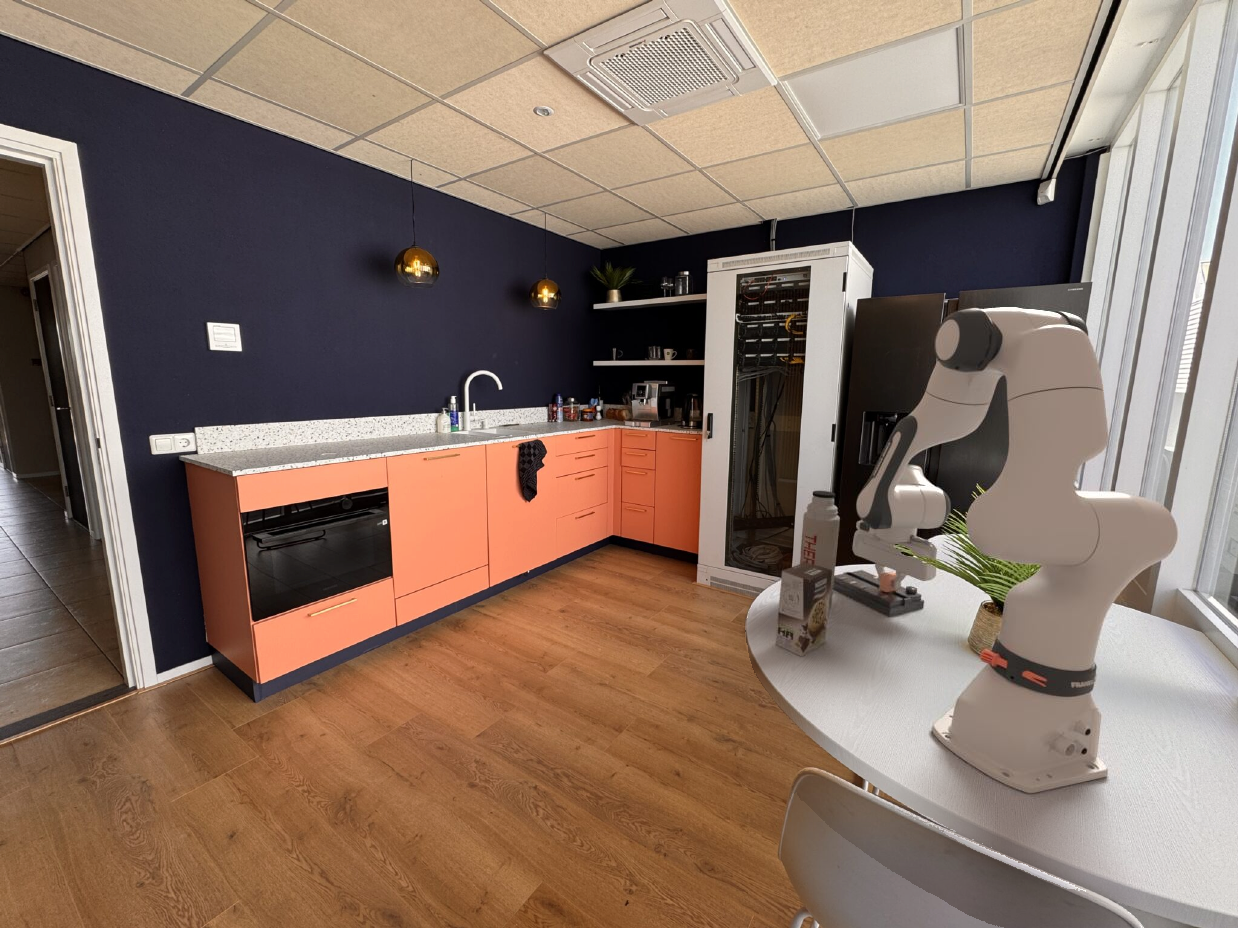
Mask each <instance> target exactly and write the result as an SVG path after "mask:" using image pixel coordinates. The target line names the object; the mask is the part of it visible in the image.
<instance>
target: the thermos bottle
mask: <svg viewBox="0 0 1238 928" xmlns="http://www.w3.org/2000/svg"><path fill="white" fill-rule="evenodd" d="M835 497H836V493H834V492H833V491H828V490H813V491H812V497H811V502H810V503H808V504H807V507H806V510H807V511H806V512H804V513H803V517H802V519H803V520H802V532H801V542H800V543H801V544H800V558H799V559H800V560H799V564H802V563H804V562H806V563H809V564H812V565H817V566H820V567H824V568H827V569H830V570H832V578H831V588H830V598H829V608H828V611H829V610H830V609H831V608H832V605H833V595H834V594H833V592H834V590H833V583H834V575H835V572H836V562H837V554H838V553H837V550H838V542H839V541H838V539H839V532H840V520H841V517H840V516H839V515H838V514H839V512H838V507H837V506H836V505H835Z"/></svg>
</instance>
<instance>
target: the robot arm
mask: <svg viewBox="0 0 1238 928" xmlns="http://www.w3.org/2000/svg"><path fill="white" fill-rule="evenodd" d="M933 341H934V342H933V343H934V344H933V349H934V350H933V351H934V356H935V358H936V359H937V362H936V363H935V366H934V367H933V371H932V373H931V374H930V378H929V380H928V383H927V387H926V389H925V392H924V395H923V396H922V398H921V400H920V402H919V403H918V405H917V406H916V407H915V408H914V409H913V411H911V413H909V414H908V415H907V416H905V417H903V418H901V419H900V420H899V421H898V422H897V424H896V426H895V427H894V428H893V431H892V433H891V434H890V436H889V438H888V440H887V442H886V444H885V446H884V447H883V450H882V452H881V454H880V457H879V459H878V461H877V463H876V464H875V467H874V469H873V470H872V473H871V475H870V477H869V479H868V480H867V482H866V483H865V484H864V486H863V488H862V489H861V490H860V492H859V493H858V495H857V499H856V503H855V510H856V514H857V516H858V518H859V519H860V520H858V521H857V522H856V529H857V530H856V531H855V532H854V536H853V542H852V551H853V553H854V555H855V556H857V557H860V558H862V559H864V560H868V561H870V562H871V563H872V562H873V563H874V564H875V565H874V568H875V570H876V572H877V576H878V581H879V582H880V577H881V573H886V571H885V568H888V569H890V570H893V571H894V572H895V573H896V575H898V576H897V577H896V579H892V580H891V584H890V586H891V587H894V588H896V589H897V588H900V587H901V586H902V581H904V580H905V578H906V577H907V576H908V577H911V578H914V579H915V580H919V581H921V582H926V581H927V582H928V581H932V580H933V579H935V578H936V575H937V566H936V567H934V566H931V565H930V564H927V563H923V562H922V561H920V560H917V559H916V558H914V557H913V558H911V557H909V556H906V555H904V554H902V553H901V552H904V551H902V550H901V549H896V548H893V546H894V545H895V544H898V545H902V546H905V547H906V548H908V549H911V550H912V551H914V553H913V554H915V555H916V556H919V557H921V556H922V557H928V558H932V559H933V560H936V561H937V555H938V548H937V547H936V546H935V544H934V543H933V542H932V541H931V540H928V539H926V538H925V539H924V538H921V537H919V536H917V532H918V529H935V528H936V529H937V528H940V527H942V526H943V525H944V524H945V523H946V521H947V520H948V518H949V516H950V514H951V509H952V508H951V507H952V506H951V505H952V504H951V500H950V497H949V495H948V494H947V492H945V491H944V490H943V488H940V487H939V486H935V485H934V484H932V483H931V482H930V481H929V479H927V478H926V476H925V475H924V472H923V469H922V467H920V466H919V465H916V464H909V463H910V461H911V460H912V458H914V457H915V456H916V455H917V454H919V453H920V452H923V451H925V450H927V449H929V448H931V447H934V446H937V445H940V444H943V443H948V442H952V441H956V440H959V439H962V438H965V437H966V436H968V435H969V434H971V433H973V432H974V431H976V430H977V429H978V428H979V426H980V425H981V424H982V422H983V420H984V419H985V418H986V415H987V412H988V411H989V407H990V406H991V402H992V401H993V400H992V399H993V396H994V393H995V390H996V387H997V384H998V382H999V380H1000V378H1001V377H1003V376H1005V379H1006V399H1007V411H1008V412H1007V413H1008V415H1007V416H1008V437H1009V439H1008V443H1009V444H1008V453H1007V457H1006V458H1007V459H1006V461H1005V464H1004V467H1003V469H1002V472H1001V473H1000V475H999V476H998V478H997V479H996V481H995V482H994V483H993V485H991V487H989V489H987V490H986V491H984V492H983V493H982V494H980V495H979V496H977V497H976V498H975V499H974V501H973V502H972V503H971V505H970V506H969V508H968V511H967V514H966V518H965V527H966V532H967V535H968V537H969V540H970V542H971V543H972V544H973V546H974V547H975V548H976V550H977V551H979V552H980V553H981V554H982V555H983V556H987V557H989V558H993V559H997V560H1000V561H1005V562H1008V563H1009V562H1011V563H1014V564H1020V565H1035V566H1036V565H1037V566H1038V565H1041V567H1040V568H1039V569H1038V570H1037V571H1036V573H1034V574H1033V575H1031V576H1030V577H1029V578H1026V579H1025V580H1023V581H1021V582H1019V583H1017V584H1015V585H1013V587H1012V588H1011V589H1010V590H1009V591H1008V592H1007V594H1006V595H1005V599H1004V603H1003V610H1002V617H1001V624H1000V629H999V630H1000V631H999V634H998V635H997V636H996V638H995V640H994V642H993V643H992V645H991V648H990V649H988V648H985V649H983V650H982V651H981V653H980V657H979V658H980V661H981V662H983V663H986V664H985V665H984V666H983V668H982V669H980V671H979V672H978V673H977V674H976V675H975V677H974V678H973V679H972V680H971V681H970V682H969V684H968V685H967V686H966V687H965V689H964V690H963V691H962V692H961V693H960V694H959V696H958V697H957V699H956V702H955V704H954V706H952V707H951V708H950V709H949V710H947V711H946V712H945V713H944V714H942V716H940V717H939V718H938V719H937V720H936V721H935V722H934V723H933V724H932V727H931V732H932V733H933V734H934V736H935V737H936V739H938V740H939V742H940V743H942V744H943V746H945V747H946V748H948V749H949V750H950V751H952V753H954V754H955V755H956V756H957V757H959V758H961V759H962V760H964V761H965V762H966V763H968V764H969V765H971V766H972V767H974V768H976V769H977V770H979V771H981V772H982V773H984V774H985V775H987V776H989V777H990V778H992V779H995V780H996V781H998V782H1001V783H1003V784H1004V785H1006V786H1009V787H1011V788H1013V789H1016V790H1019V791H1022V792H1024V793H1028V794H1034V793H1039V792H1044V791H1048V790H1052V789H1057V788H1061V787H1066V786H1070V785H1075V784H1079V783H1084V782H1088V781H1092V780H1093V781H1094V780H1097V779H1102V778H1106V777H1108V775H1109V774H1108V771H1109V768H1108V766H1107V765H1106V763H1105V762H1103V760H1101V758H1099V756H1098V753H1099V752H1098V751H1099V743H1100V742H1099V741H1100V731H1101V725H1102V724H1101V722H1102V713H1101V712H1100V709H1099V708H1098V707H1097V705H1096V704H1095V701H1094V699H1093V696H1092V694H1091V692H1092V691H1093V690H1094V688H1095V687H1094V686H1095V683H1096V680H1097V674H1098V673H1097V669H1098V665H1097V663H1096V662H1095V657H1096V652H1097V648H1098V643H1099V640H1100V635H1101V632H1102V628H1103V624H1104V621H1105V618H1106V616H1107V614H1108V612H1109V610H1110V608H1111V607H1112V605H1113V604H1114V602H1115V600H1116V599H1117V598H1118V597H1119V595H1121V593H1122V591H1124V589H1126V587H1127V586H1128V585H1129V583H1131V581H1132V580H1133V579H1135V578H1136V577H1137V576H1138V575H1139V574H1141V572H1143V571H1145V570H1146V569H1148V568H1150V567H1151V566H1153V565H1155V564H1157V563H1159V562H1162V561H1163V560H1165V559H1166V558H1167V557H1168V556H1169V555H1171V553H1172V552H1173V551H1174V550H1175V547H1176V544H1177V541H1178V527H1177V523H1176V520H1175V519H1174V516H1173V515H1172V513H1171V512H1170V511H1169V510H1168V509H1167V508H1166V507H1165V505H1163V504H1161V503H1160V502H1158V501H1156V500H1153V499H1151V498H1147V497H1142V496H1138V495H1135V494H1129V493H1124V492H1120V491H1119V492H1118V491H1115V490H1114V491H1109V490H1107V491H1106V490H1077V489H1076V488H1075V483H1076V478H1077V474H1078V472H1079V469H1080V467H1081V466H1082V465H1083V464H1084V463H1086V462H1088V461H1090V460H1092V459H1093V458H1095V457H1097V456H1099V455H1100V454H1102V452H1103V451H1104V450H1105V449H1106V447H1107V445H1108V443H1109V440H1110V439H1109V438H1110V435H1109V430H1108V429H1109V427H1108V420H1107V419H1108V418H1107V411H1106V409H1107V408H1106V402H1105V401H1106V400H1105V393H1104V384H1103V378H1102V373H1101V369H1100V366H1099V365H1100V364H1099V362H1098V358H1097V355H1096V352H1095V349H1094V346H1093V344H1092V342H1091V340H1090V338H1089V329H1088V327H1087V324H1086V323H1085V321H1084V320H1083V319H1082V318H1081V317H1080V316H1077V315H1075V314H1072V313H1069V312H1065V311H1060V310H1051V311H1047V310H1046V311H1045V310H1040V309H1039V310H1038V309H1026V308H1019V307H995V308H994V307H992V308H991V307H990V308H984V309H983V308H979V307H978V308H977V307H973V308H972V307H971V308H966V309H961V310H958V311H957V310H956V311H954V312H952V313H950V314H948V315H947V316H946V317H945V318H944V319H943V321H942V322H941V323H940V325H939V327H938V328H937V331H936V333H935V336H934V340H933ZM1075 489H1076V490H1075Z"/></svg>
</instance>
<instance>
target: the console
mask: <svg viewBox="0 0 1238 928" xmlns="http://www.w3.org/2000/svg"><path fill="white" fill-rule="evenodd" d="M879 586H880V582H879V581H878V575H874V574H872V573H870V572H868V571H865V570H863V569H860V570H856V571H846V572H842V573H841V574H836V575H835V574H834V583H833V592H835V593H838V594H841V595H842V596H845V597H847V598H849V599H850V600H853V601H854V602H857V603H858V604H860V605H862V606H865V607H867V608H869V609H870V610H873V611H875V612H878V613H880V614H881V615H884V616H886V617H888V618H891V617H895V616H899V615H904V614H907V613H910V612H915V611H918V610H919V611H920V610H923V609H924V606H925V600H923V599H922V594H920V593H918V588H917V587H916V586H911V585H909V586H906V587H905V586H902V585H901V587H900V588H898V590H894V591H893V594H891V593H888V592H885V591H882V590H880V589H879Z"/></svg>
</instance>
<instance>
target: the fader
mask: <svg viewBox="0 0 1238 928" xmlns="http://www.w3.org/2000/svg"><path fill="white" fill-rule="evenodd" d="M897 576H898V575H896V571H894V570H893V571H887V572H886V571H885V573H881V577H880V586H879V589H880V590H882V591H885V592H888V593H891V594H893V591H894V590H898V588H897V589H896V588H894V587H891V586H890V584H891V580H892V579H896V577H897Z"/></svg>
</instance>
